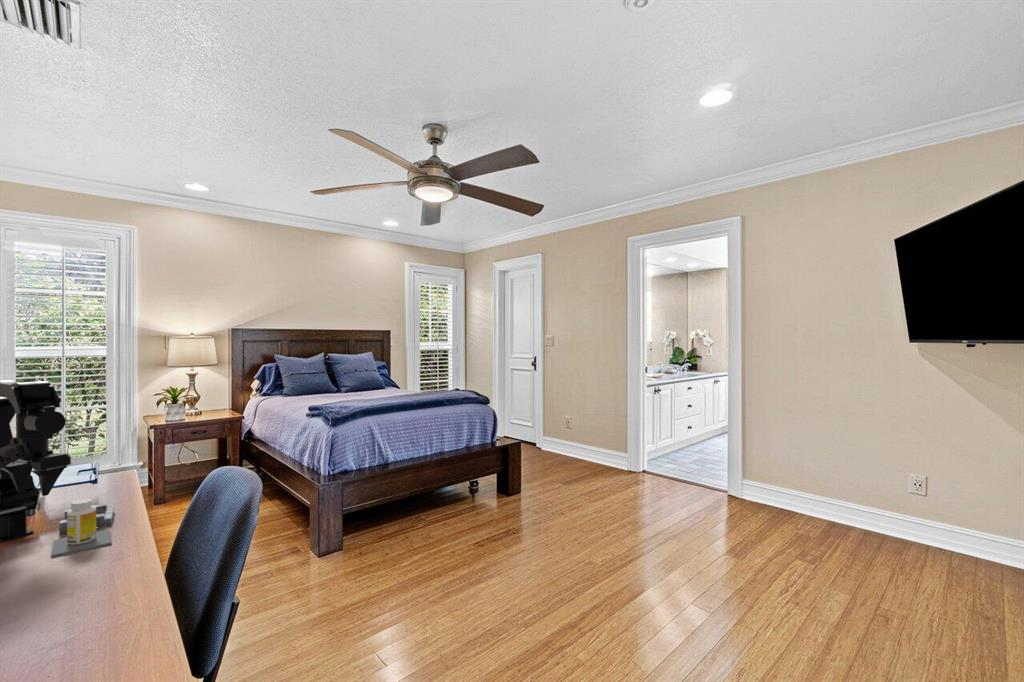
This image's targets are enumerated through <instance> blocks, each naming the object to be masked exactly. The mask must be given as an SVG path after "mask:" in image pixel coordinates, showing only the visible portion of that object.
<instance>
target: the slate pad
mask: <svg viewBox="0 0 1024 682" xmlns="http://www.w3.org/2000/svg"><path fill="white" fill-rule="evenodd" d="M110 544H111V545H112V536H111V529H104V530H98V531H96V538H95V539H94V540H92V541H90V542H87V543H84V544H79V545H70V544H68V543H67V537H63V538H60V539H55V540H53V541H52V549H51V554H50V558H55V557H60V556H65V555H69V554H74V553H75V554H76V553H79V552H83V551H84V552H85V551H89V550H93V549H97V548H102V546H103V547H106V545H107V546H111V545H110Z"/></svg>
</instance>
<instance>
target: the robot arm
mask: <svg viewBox="0 0 1024 682" xmlns="http://www.w3.org/2000/svg"><path fill="white" fill-rule="evenodd" d="M61 402H62V400H61V398H60V397H59V394H58V392H57V390H56V389H55V387H54V385H53V384H51V382H49V381H47V380H43V381H29V382H27V381H26V382H20V381H16V380H13V379H5V380H2V379H1V380H0V542H7V541H10V540H13V539H18V538H19V537H23V536H26V535H30V534H34V533H35V532H34V530H32V529H28V527H27V525H28V524H27V523H28V522H27V520H28V519H27V515H28V511H30V510H36V509H37V506H38V502H39V501H38V500H39V496H40V493H41V496H42V497H45V496H49V494H50V493H51V491H52V489H53V487H54V485H55V484H56V482H57V481H58V479H59V477H60V476H61V475H62V473H63V471H64V470H65V469H67V468H68V466H70V465H72V457H71V455H69V454H67V453H62V452H61V453H59V452H56V453H54V450H53V449H52V450H51V449H49V439H53V438H54V435H55V434H57V433H60V432H61V431H62V430H63V429H64V428H65V426H66V422H67V421H66V418H65V416H64V415H63V414H62V413H61V412H60V411H59V412H58V411H56V408H57V409H59V408H60V407H61ZM14 417H15V436H13V432H12V429H11V422H12V420H13V418H14ZM32 473H33V474H35V475H37V476H38V480H39V481H38V482H39V487H40V490H38V487H37V486H36V485H35V482H34V477H33V475H32Z"/></svg>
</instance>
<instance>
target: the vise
mask: <svg viewBox="0 0 1024 682" xmlns="http://www.w3.org/2000/svg"><path fill="white" fill-rule="evenodd" d="M92 506H95V507H96V527H99V528H102V527H101V526H105V525H110V526H112V525H111V524H113V519H114V514H115V513H114V512H115V508H114V507H115V506H114V505H108V503H106V502H105V503H100V504H94V505H93V504H92ZM69 510H71V508H69V509H65V511H64V519H63V520H60V521H59V524H58V525H59V526H58V527H59V528H58V529H59V535H64V534H65V535H67V512H68V511H69ZM113 513H114V514H113ZM104 515H105V516H104ZM112 518H113V519H112ZM105 527H106V526H105Z"/></svg>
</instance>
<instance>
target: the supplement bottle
mask: <svg viewBox="0 0 1024 682" xmlns="http://www.w3.org/2000/svg"><path fill="white" fill-rule="evenodd" d="M70 504H71V505H70V509H71V510H69V511H68V512H67V533H66V538H67V543H68V544H70V545H79V544H84V543H87V542H90V541H92V540H94V539H95V538H96V532H97V528H96V507H95V506H92V505H93V499H92V498H82V499H78V500H74V501H72V502H70Z"/></svg>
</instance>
